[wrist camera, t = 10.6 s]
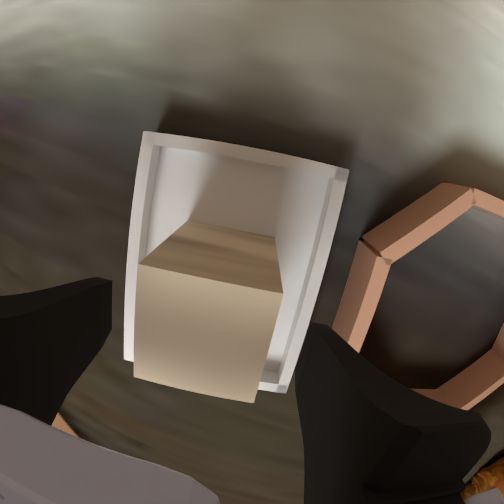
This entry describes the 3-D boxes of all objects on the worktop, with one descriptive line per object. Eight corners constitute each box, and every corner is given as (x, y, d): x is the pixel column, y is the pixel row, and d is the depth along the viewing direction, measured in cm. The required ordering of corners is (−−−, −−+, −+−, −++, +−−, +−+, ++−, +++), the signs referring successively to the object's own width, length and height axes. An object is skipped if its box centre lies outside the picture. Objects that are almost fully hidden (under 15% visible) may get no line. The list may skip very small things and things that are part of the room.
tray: (284, 375, 19) (285, 393, 17) (134, 343, 19) (124, 359, 17) (340, 168, 16) (349, 169, 14) (155, 133, 15) (143, 131, 14)
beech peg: (257, 315, 17) (253, 402, 11) (177, 298, 17) (133, 376, 11) (274, 237, 16) (283, 293, 9) (188, 220, 16) (138, 263, 9)
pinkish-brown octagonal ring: (471, 396, 20) (487, 418, 17) (308, 390, 20) (314, 421, 17) (542, 225, 16) (569, 235, 13) (378, 159, 15) (401, 160, 13)
